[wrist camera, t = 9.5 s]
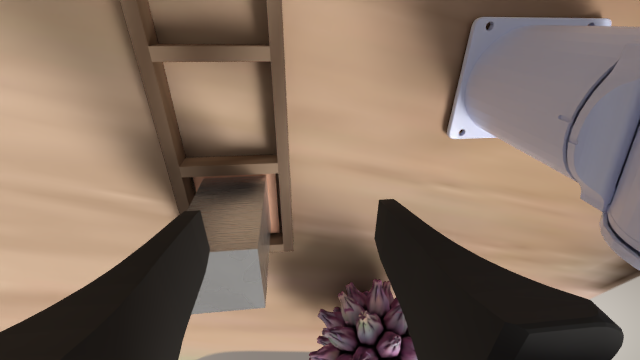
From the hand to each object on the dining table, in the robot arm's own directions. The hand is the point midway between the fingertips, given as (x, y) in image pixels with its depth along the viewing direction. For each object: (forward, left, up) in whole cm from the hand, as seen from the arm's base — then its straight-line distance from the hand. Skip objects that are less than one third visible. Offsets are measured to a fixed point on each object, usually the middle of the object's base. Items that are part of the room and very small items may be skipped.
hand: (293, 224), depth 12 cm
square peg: (+4, +5, -10) cm, 12 cm away
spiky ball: (-7, +17, -11) cm, 21 cm away
